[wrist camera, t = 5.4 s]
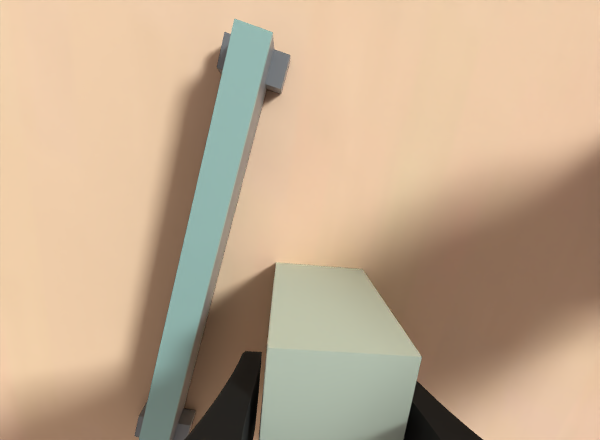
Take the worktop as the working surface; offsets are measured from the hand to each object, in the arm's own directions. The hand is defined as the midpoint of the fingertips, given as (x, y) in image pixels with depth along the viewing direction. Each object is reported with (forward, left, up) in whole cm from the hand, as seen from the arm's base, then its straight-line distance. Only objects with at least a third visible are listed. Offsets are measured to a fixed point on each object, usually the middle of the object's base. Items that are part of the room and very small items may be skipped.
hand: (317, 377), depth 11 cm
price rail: (+6, -2, -3) cm, 7 cm away
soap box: (0, 0, -3) cm, 3 cm away
